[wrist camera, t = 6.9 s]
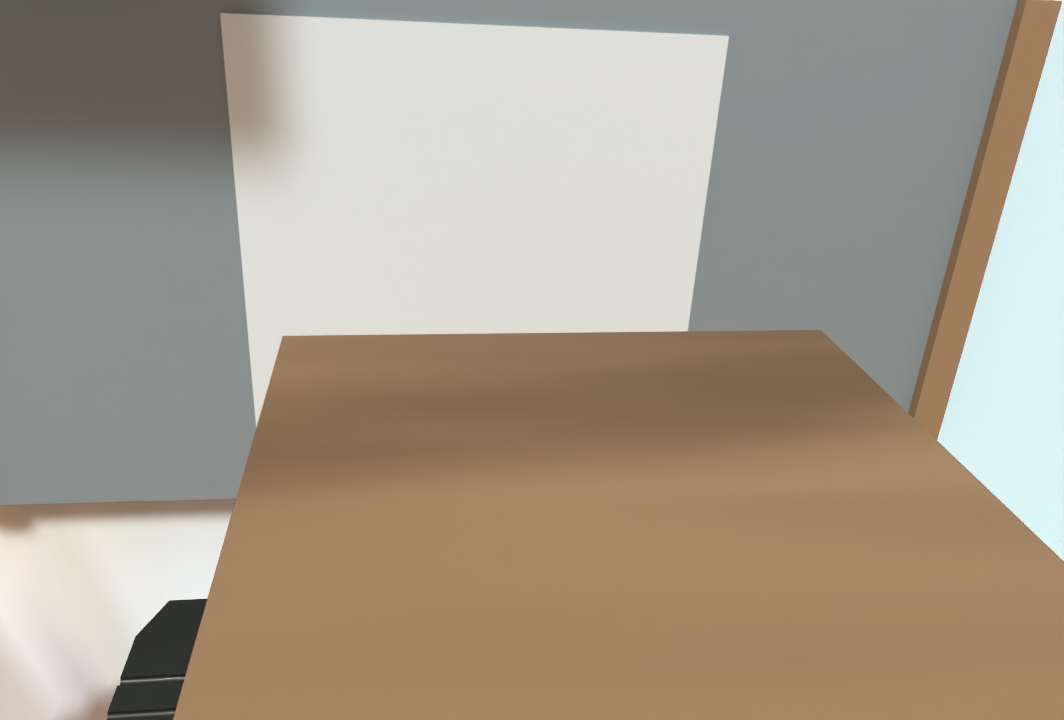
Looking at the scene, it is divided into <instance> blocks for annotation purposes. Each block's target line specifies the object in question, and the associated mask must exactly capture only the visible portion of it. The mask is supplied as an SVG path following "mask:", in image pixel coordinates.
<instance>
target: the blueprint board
mask: <svg viewBox="0 0 1064 720" xmlns="http://www.w3.org/2000/svg"><path fill="white" fill-rule="evenodd" d="M1061 3H1062V1H1054V0H0V505H25V504H63V503H100V502H138V501H175V500H213V499H236V497H237V494H238V490H239V487H240V483H241V480H242V476H243V473H244V469H245V466H246V462H247V459H248V455H249V452H250V448H251V445H252V441H253V438H254V434H255V431H256V427H257V424H258V420H259V417H260V413H261V410H262V406H263V403H264V399H265V396H266V392H267V389H268V385H269V382H270V378H271V375H272V371H273V368H274V364H275V361H276V357H277V354H278V350H279V347H280V343H281V340H282V336H310V335H401V334H491V333H582V332H673V331H764V330H822V331H823V332H824V333H825V334H826V335H827V336H828V337H829V338H830V339H831V340H832V341H833V342H834V343H835V344H836V345H837V346H838V347H839V348H840V349H841V350H842V351H844V352H845V353H846V354H847V355H848V356H849V357H850V358H851V359H852V360H853V361H854V362H855V363H856V364H857V365H858V366H859V367H860V368H861V369H862V370H863V371H865V372H866V373H867V374H868V375H869V376H870V377H871V378H872V379H873V380H874V381H875V382H876V383H877V384H878V385H879V386H880V387H881V388H882V389H883V390H884V391H885V392H887V393H888V394H889V395H890V396H891V397H892V398H893V399H894V400H895V401H896V402H897V403H898V404H899V405H900V406H901V407H902V408H903V409H904V410H905V411H906V412H907V413H909V414H910V415H911V416H912V417H913V418H914V419H915V420H916V421H917V422H918V423H919V424H920V425H921V426H922V427H923V428H924V429H925V430H926V431H927V432H928V433H929V434H931V435H932V436H933V437H934V438H935V439H936V440H937V438H938V435H939V431H940V428H941V424H942V421H943V417H944V414H945V410H946V407H947V403H948V400H949V396H950V393H951V389H952V386H953V382H954V379H955V375H956V372H957V368H958V365H959V361H960V358H961V354H962V351H963V347H964V344H965V340H966V337H967V333H968V330H969V326H970V323H971V319H972V316H973V312H974V309H975V305H976V302H977V298H978V294H979V291H980V287H981V284H982V280H983V277H984V273H985V270H986V266H987V263H988V259H989V256H990V252H991V249H992V245H993V242H994V238H995V235H996V231H997V228H998V224H999V221H1000V217H1001V214H1002V210H1003V207H1004V203H1005V200H1006V196H1007V193H1008V189H1009V186H1010V182H1011V179H1012V175H1013V172H1014V168H1015V165H1016V161H1017V158H1018V154H1019V151H1020V147H1021V144H1022V140H1023V137H1024V133H1025V130H1026V126H1027V123H1028V119H1029V116H1030V112H1031V109H1032V105H1033V102H1034V98H1035V95H1036V91H1037V88H1038V84H1039V81H1040V77H1041V74H1042V70H1043V67H1044V63H1045V60H1046V56H1047V53H1048V49H1049V45H1050V42H1051V38H1052V35H1053V31H1054V28H1055V24H1056V21H1057V17H1058V14H1059V10H1060V7H1061Z"/></svg>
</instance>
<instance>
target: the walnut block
mask: <svg viewBox="0 0 1064 720" xmlns="http://www.w3.org/2000/svg"><path fill="white" fill-rule="evenodd" d="M173 720H1064V561H1063V560H1062V559H1060V558H1059V557H1058V556H1057V555H1056V554H1055V553H1054V552H1053V551H1052V550H1051V549H1050V548H1049V547H1048V546H1047V545H1046V544H1045V543H1044V542H1043V541H1042V540H1041V539H1040V538H1038V537H1037V536H1036V535H1035V534H1034V533H1033V532H1032V531H1031V530H1030V529H1029V528H1028V527H1027V526H1026V525H1025V524H1024V523H1023V522H1022V521H1021V520H1020V519H1019V518H1018V517H1016V516H1015V515H1014V514H1013V513H1012V512H1011V511H1010V510H1009V509H1008V508H1007V507H1006V506H1005V505H1004V504H1003V503H1002V502H1001V501H1000V500H999V499H998V498H997V497H996V496H994V495H993V494H992V493H991V492H990V491H989V490H988V489H987V488H986V487H985V486H984V485H983V484H982V483H981V482H980V481H979V480H978V479H977V478H976V477H975V476H973V475H972V474H971V473H970V472H969V471H968V470H967V469H966V468H965V467H964V466H963V465H962V464H961V463H960V462H959V461H958V460H957V459H956V458H955V457H954V456H953V455H951V454H950V453H949V452H948V451H947V450H946V449H945V448H944V447H943V446H942V445H941V444H940V443H939V442H938V441H937V440H936V439H935V438H934V437H933V436H932V435H931V434H929V433H928V432H927V431H926V430H925V429H924V428H923V427H922V426H921V425H920V424H919V423H918V422H917V421H916V420H915V419H914V418H913V417H912V416H911V415H910V414H909V413H907V412H906V411H905V410H904V409H903V408H902V407H901V406H900V405H899V404H898V403H897V402H896V401H895V400H894V399H893V398H892V397H891V396H890V395H889V394H888V393H887V392H885V391H884V390H883V389H882V388H881V387H880V386H879V385H878V384H877V383H876V382H875V381H874V380H873V379H872V378H871V377H870V376H869V375H868V374H867V373H866V372H865V371H863V370H862V369H861V368H860V367H859V366H858V365H857V364H856V363H855V362H854V361H853V360H852V359H851V358H850V357H849V356H848V355H847V354H846V353H845V352H844V351H842V350H841V349H840V348H839V347H838V346H837V345H836V344H835V343H834V342H833V341H832V340H831V339H830V338H829V337H828V336H827V335H826V334H825V333H824V332H823V331H822V330H764V331H673V332H582V333H491V334H401V335H310V336H282V340H281V343H280V347H279V350H278V354H277V357H276V361H275V364H274V368H273V371H272V375H271V378H270V382H269V385H268V389H267V392H266V396H265V399H264V403H263V406H262V410H261V413H260V417H259V420H258V424H257V427H256V431H255V434H254V438H253V441H252V445H251V448H250V452H249V455H248V459H247V462H246V466H245V469H244V473H243V476H242V480H241V483H240V487H239V490H238V494H237V497H236V501H235V504H234V508H233V511H232V515H231V518H230V522H229V525H228V529H227V532H226V536H225V539H224V543H223V546H222V550H221V553H220V557H219V560H218V564H217V567H216V571H215V574H214V578H213V581H212V585H211V588H210V592H209V595H208V599H207V602H206V606H205V609H204V613H203V616H202V620H201V623H200V627H199V630H198V634H197V637H196V641H195V644H194V648H193V651H192V655H191V658H190V662H189V665H188V669H187V672H186V676H185V679H184V683H183V686H182V690H181V693H180V697H179V700H178V704H177V707H176V711H175V714H174V718H173Z"/></svg>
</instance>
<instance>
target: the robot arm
mask: <svg viewBox="0 0 1064 720" xmlns="http://www.w3.org/2000/svg"><path fill="white" fill-rule="evenodd" d="M206 602H207V599H194V600H173V601H169V602H168V603H167V604H166V605H165V606H164V607H163V608H162V609H161V610H160V611H159V612H158V613H157V614H156V615H155V617H154V618H153V619H152V620H151V621H150V622H149V623H148V624H147V625H146V626H145V627H144V628H143V629H142V630H141V631H140V632H139V634H138V635H137V636H136V637H135V640H134V643H133V645H132V648H131V651H130V653H129V656H128V659H127V661H126V664H125V667H124V669H123V672H122V675H121V683H120V686H117V688H116V691H115V694H114V696H113V699H112V702H111V704H110V707H109V710H108V718H107V720H173V718H174V714H175V711H176V707H177V704H178V700H179V697H180V693H181V690H182V686H183V683H184V679H185V676H186V672H187V669H188V665H189V662H190V658H191V655H192V651H193V648H194V644H195V641H196V637H197V634H198V630H199V627H200V623H201V620H202V616H203V613H204V609H205V606H206Z"/></svg>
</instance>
